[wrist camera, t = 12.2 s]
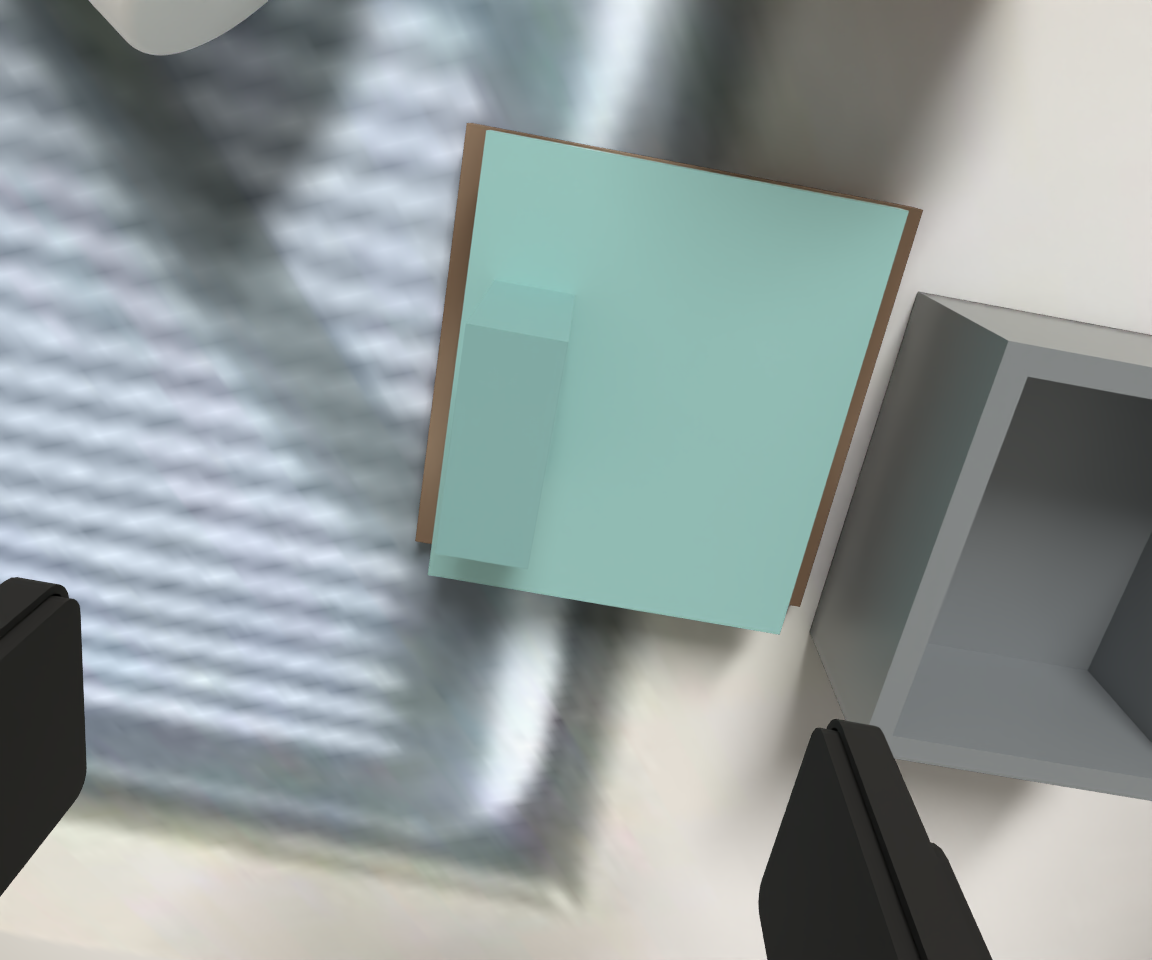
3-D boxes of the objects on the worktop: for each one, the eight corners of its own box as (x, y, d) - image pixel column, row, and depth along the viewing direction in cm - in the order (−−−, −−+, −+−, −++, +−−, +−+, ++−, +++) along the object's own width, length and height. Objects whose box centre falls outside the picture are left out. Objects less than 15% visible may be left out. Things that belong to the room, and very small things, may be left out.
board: (912, 206, 28) (923, 209, 27) (794, 593, 33) (799, 606, 33) (471, 122, 28) (466, 123, 27) (420, 529, 33) (415, 541, 32)
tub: (1241, 351, 30) (1419, 417, 23) (1089, 679, 35) (1202, 809, 28) (918, 291, 29) (1008, 340, 23) (809, 632, 34) (859, 752, 28)
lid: (886, 204, 27) (995, 237, 20) (768, 602, 33) (819, 749, 25) (495, 129, 27) (453, 133, 19) (438, 545, 32) (388, 678, 24)
